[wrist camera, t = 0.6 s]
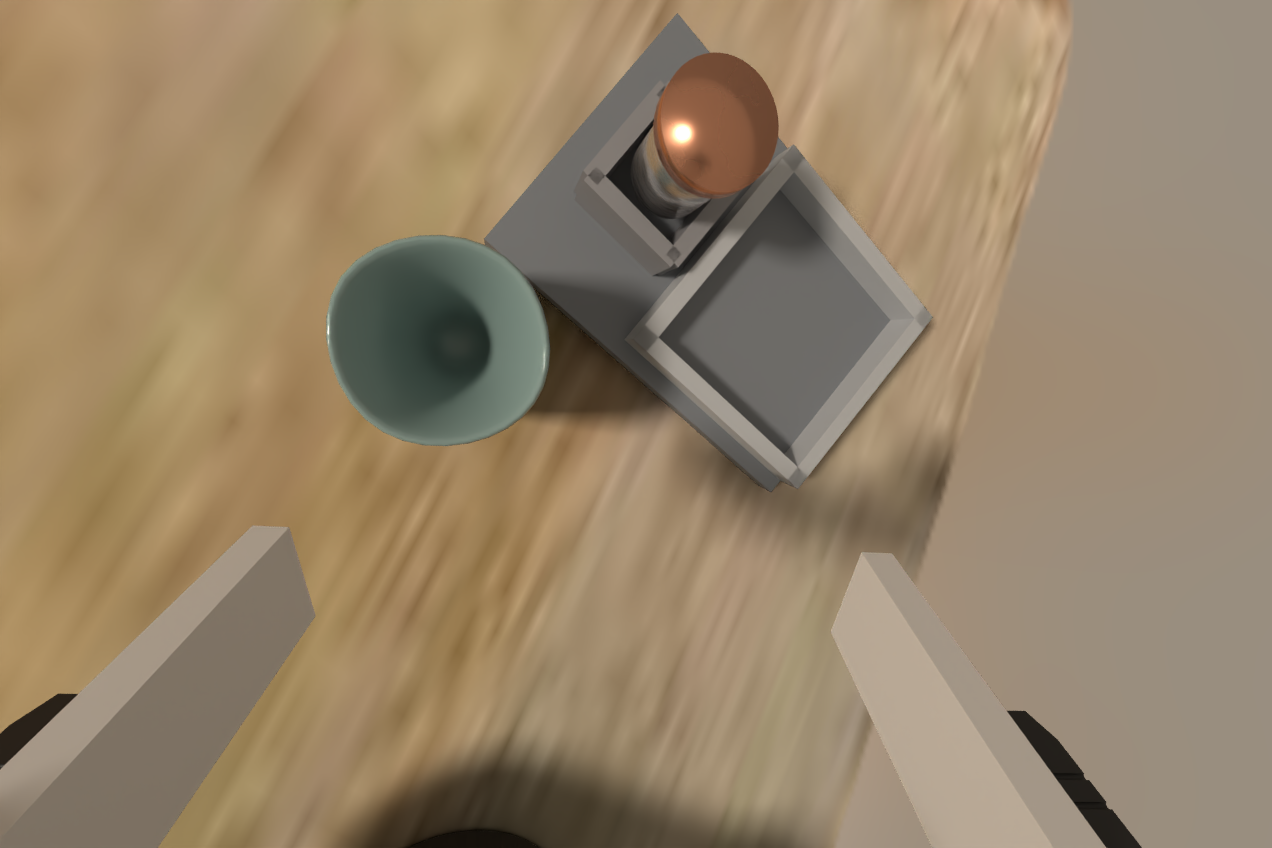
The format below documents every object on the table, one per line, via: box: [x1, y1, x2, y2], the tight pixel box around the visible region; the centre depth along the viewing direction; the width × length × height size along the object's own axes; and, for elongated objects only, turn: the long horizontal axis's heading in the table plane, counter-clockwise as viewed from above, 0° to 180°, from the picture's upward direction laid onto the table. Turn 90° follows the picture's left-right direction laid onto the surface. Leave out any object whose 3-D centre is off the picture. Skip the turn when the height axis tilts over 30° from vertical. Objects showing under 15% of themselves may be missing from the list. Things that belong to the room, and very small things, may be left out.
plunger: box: [631, 53, 778, 219], centre depth 21 cm, size 5×5×6 cm
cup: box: [326, 235, 550, 446], centre depth 22 cm, size 8×8×10 cm
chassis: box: [484, 13, 933, 492], centre depth 28 cm, size 16×23×5 cm
